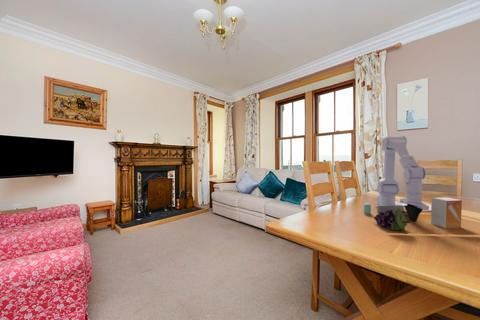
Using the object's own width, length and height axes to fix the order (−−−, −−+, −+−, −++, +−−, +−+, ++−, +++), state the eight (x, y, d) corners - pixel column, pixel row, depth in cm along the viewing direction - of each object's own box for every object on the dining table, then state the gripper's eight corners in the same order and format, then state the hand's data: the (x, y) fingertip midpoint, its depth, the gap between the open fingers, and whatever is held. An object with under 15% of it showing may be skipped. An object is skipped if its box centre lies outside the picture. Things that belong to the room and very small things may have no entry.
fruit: (382, 230, 96) (420, 233, 82) (368, 230, 91) (405, 233, 78) (379, 208, 98) (415, 208, 85) (365, 207, 94) (401, 206, 81)
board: (376, 213, 112) (377, 204, 112) (401, 214, 111) (401, 205, 111) (400, 225, 94) (400, 214, 94) (429, 225, 93) (430, 215, 93)
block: (389, 215, 106) (389, 210, 106) (403, 216, 105) (404, 210, 105) (399, 220, 99) (399, 214, 99) (414, 220, 98) (414, 214, 98)
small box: (446, 230, 87) (446, 200, 87) (430, 225, 94) (430, 197, 93) (461, 229, 89) (462, 199, 88) (445, 224, 95) (445, 196, 94)
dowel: (362, 214, 112) (362, 203, 112) (368, 214, 111) (368, 203, 111) (365, 215, 108) (365, 204, 108) (372, 216, 108) (372, 204, 108)
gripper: (393, 189, 102) (393, 216, 102) (416, 195, 87) (416, 226, 88) (408, 189, 101) (408, 216, 102) (434, 195, 87) (433, 227, 87)
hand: (413, 221), depth 95 cm, fingers closed
